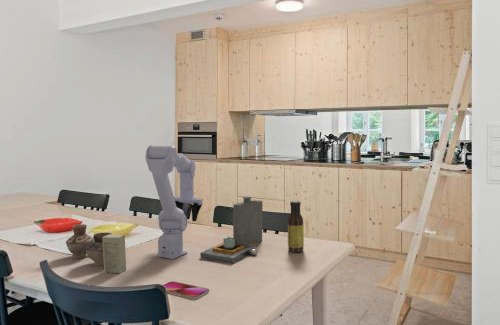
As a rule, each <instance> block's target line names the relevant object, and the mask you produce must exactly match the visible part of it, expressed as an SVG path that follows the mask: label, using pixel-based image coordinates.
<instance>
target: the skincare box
mask: <svg viewBox="0 0 500 325" xmlns="http://www.w3.org/2000/svg"><path fill="white" fill-rule="evenodd" d="M111 234H112V233H111ZM111 234H109V235H107V236H104V237H102V241H103V261H104V266H103V273H105V272H109V273H108V274H121V273H123V272H124V271H127V259H126V257H127V255H126V237H125V236H126V235H125V234H112V235H111Z"/></svg>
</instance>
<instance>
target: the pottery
mask: <svg viewBox="0 0 500 325" xmlns="http://www.w3.org/2000/svg"><path fill="white" fill-rule="evenodd" d="M87 226H88V225H87V224H82V223H80V224H75V225H72V230H73V235H72V236H70V237H69V238H68V239H66V240H65V244H66V247H67V250H68V251H69V252H70V253H71V254H72V255H71V258H72V259H83V258H87V257H88V258H89V259H90V260H91V261H93V262H94V263H93V264H94V266H96V265H97V267H104V266H103V265H104V261H103V241H102V237H104V236H107V235H109V234H111V235H113V234H112V232H98V233H94V234H93V236H91V235H89V234H87V233H86V232H87V228H88V227H87ZM86 254H87V255H88V256H87V255H86Z"/></svg>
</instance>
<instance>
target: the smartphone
mask: <svg viewBox="0 0 500 325" xmlns="http://www.w3.org/2000/svg"><path fill="white" fill-rule="evenodd" d="M162 285H163V286H165V288H166V289H167V294H169V293H171V294H170V295H173V294H175V296H177V295H180V296H179V297H181V296H183V297H182V298H185V297H188V298H187V299H189V298H191V299H190V300H194V299H195V300H198V298H199V299H200V298H202V297H204V296H206V295H207V294H209V293H210V289H209V288H207V287H202V286H197V285H192V284H187V283H183V282H179V281H168V282H166V283H165V284H164V283H163V284H162ZM208 292H209V293H208ZM206 293H207V294H206ZM205 294H206V295H205ZM203 295H204V296H203ZM201 296H202V297H201Z"/></svg>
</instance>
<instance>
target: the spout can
mask: <svg viewBox="0 0 500 325" xmlns="http://www.w3.org/2000/svg"><path fill="white" fill-rule="evenodd" d="M222 243H223V249H226V250H234V249H235V239H234V238H233V237H231V236H230V235H229V236H227V237H225V238H223V240H222Z"/></svg>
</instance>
